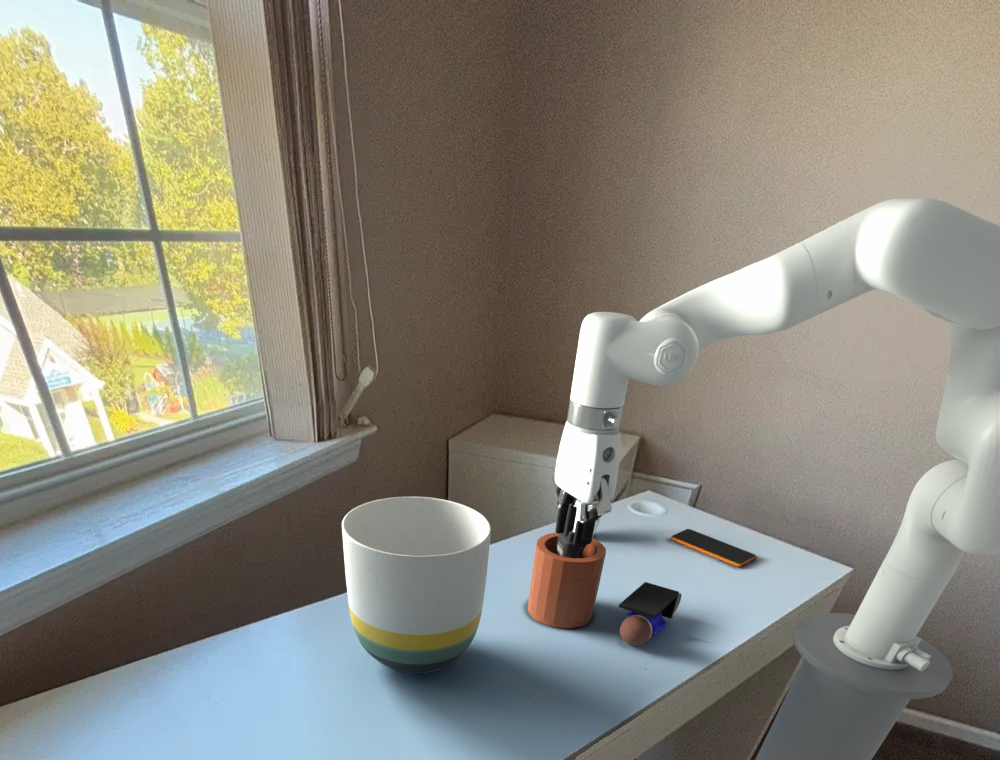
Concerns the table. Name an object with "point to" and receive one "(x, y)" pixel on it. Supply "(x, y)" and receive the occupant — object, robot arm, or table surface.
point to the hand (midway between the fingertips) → (572, 537)
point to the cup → (578, 504)
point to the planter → (415, 579)
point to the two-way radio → (568, 539)
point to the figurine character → (647, 612)
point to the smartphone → (713, 547)
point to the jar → (564, 584)
